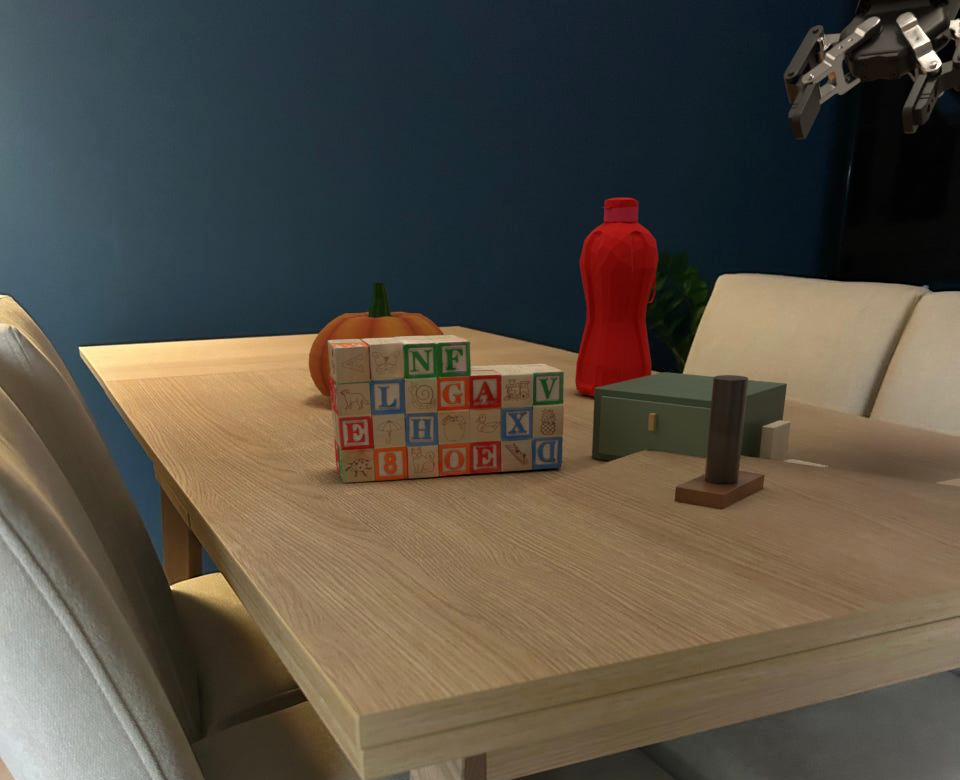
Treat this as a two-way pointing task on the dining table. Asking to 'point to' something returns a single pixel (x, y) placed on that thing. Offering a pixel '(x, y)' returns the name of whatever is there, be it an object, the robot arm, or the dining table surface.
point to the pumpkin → (365, 332)
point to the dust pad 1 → (775, 441)
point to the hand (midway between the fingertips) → (851, 127)
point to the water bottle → (616, 298)
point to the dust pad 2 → (804, 463)
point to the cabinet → (674, 415)
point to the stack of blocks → (439, 410)
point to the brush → (723, 451)
